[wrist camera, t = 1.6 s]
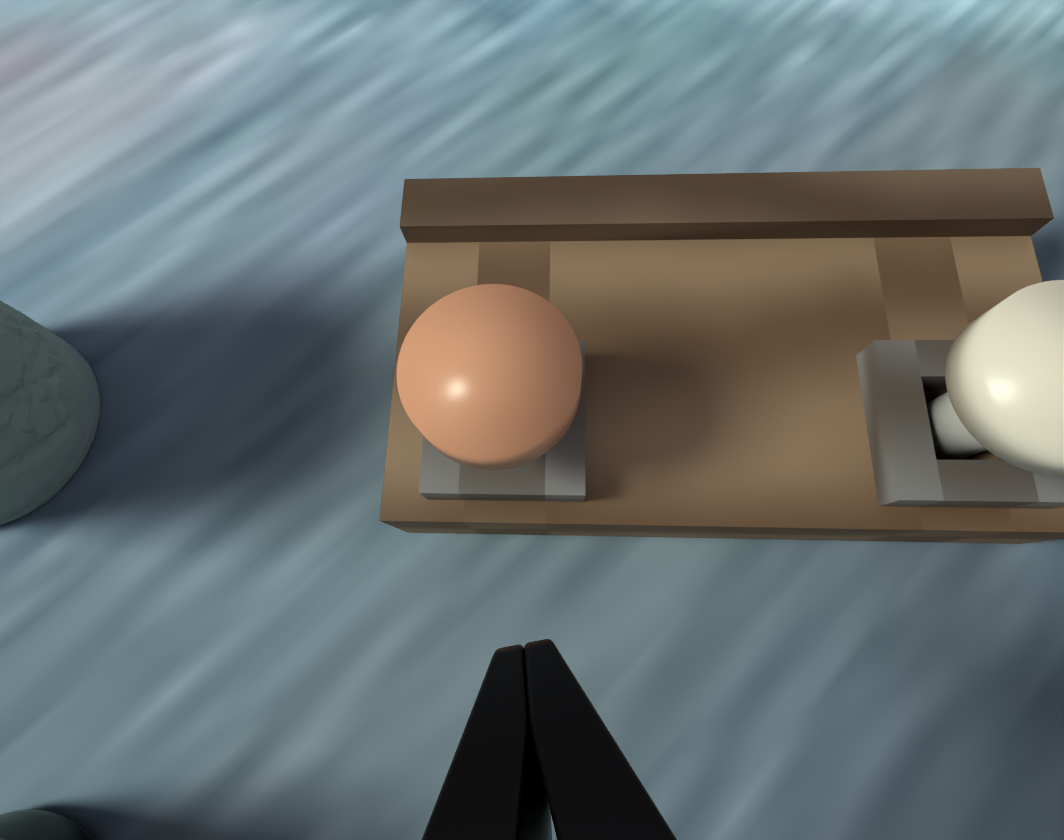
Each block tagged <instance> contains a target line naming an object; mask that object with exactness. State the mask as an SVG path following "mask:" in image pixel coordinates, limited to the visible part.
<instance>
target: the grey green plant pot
mask: <svg viewBox="0 0 1064 840" xmlns="http://www.w3.org/2000/svg"><path fill="white" fill-rule="evenodd" d="M99 415H100V393H99V388H98V383H97V380H96V378H95V375H94V373H93V370H92V368H91V367H90V365H89V364H88V362H87V361H86V359H85V358H84V357H83V356H82V355H81V354H80V353H79V352H78V351H77V350H76V349H75V348H74V347H73V346H71V345H70V344H69V343H67V342H66V341H65V340H63V339H62V338H60V337H59V336H57V335H55V334H54V333H52V332H51V331H49V330H48V329H46V328H45V327H43V326H41V325H40V324H38V323H37V322H35V321H34V320H32V319H31V318H29V317H27V316H26V315H24V314H23V313H21V312H20V311H18V310H16V309H14V308H12V307H11V306H9V305H7V304H5V303H3V302H2V301H0V525H1V524H5V523H7V522H10V521H13V520H16V519H18V518H20V517H22V516H25V515H27V514H28V513H30V512H32V511H33V510H35V509H36V508H38V507H39V506H41V505H43V504H44V503H46V502H47V501H48V500H49V499H51V498H52V497H53V496H54V495H56V494H57V493H58V492H59V491H60V490H61V489H62V488H63V487H64V486H65V484H66V483H67V482H68V481H69V480H70V478H71V477H72V476H73V475H74V473H75V472H76V471H77V470H78V468H79V467H80V465H81V463H82V462H83V460H84V458H85V457H86V455H87V453H88V451H89V449H90V446H91V444H92V442H93V440H94V437H95V433H96V429H97V426H98V421H99Z"/></svg>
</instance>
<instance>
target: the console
mask: <svg viewBox="0 0 1064 840" xmlns="http://www.w3.org/2000/svg"><path fill="white" fill-rule="evenodd" d="M1053 218H1054V217H1053V213H1052V210H1051V206H1050V202H1049V199H1048V195H1047V192H1046V188H1045V185H1044V181H1043V177H1042V174H1041V170H1040V168H1007V169H951V170H894V171H838V172H782V173H725V174H669V175H613V176H556V177H500V178H444V179H405V181H404V190H403V200H402V209H401V219H400V228H401V231H402V233H403V235H404V237H405V240H406V242H407V249H406V259H405V269H404V279H403V289H402V299H401V309H400V319H399V329H398V339H397V349H396V359H395V369H394V379H393V389H392V399H391V409H390V420H389V430H388V440H387V450H386V460H385V470H384V480H383V490H382V500H381V510H380V520H379V521H381V522H384V523H386V524H389V525H391V526H394V527H396V528H398V529H401V530H403V531H406V532H414V533H469V534H523V535H578V536H633V537H687V538H742V539H797V540H851V541H906V542H960V543H1015V544H1021V543H1029V542H1038V541H1047V540H1055V539H1064V477H1056V476H1046V475H1041V474H1036V473H1032V472H1029V471H1026V470H1023V469H1020V468H1018V467H1016V466H1013V465H1011V464H1009V463H1007V462H1005V461H1004V460H1002V459H1000V458H998V457H997V456H995V455H994V454H992V453H991V452H990V451H988V450H986V451H983V452H980V453H977V454H974V455H971V456H968V457H966V458H963V459H960V460H936V455H935V449H934V444H933V438H932V433H931V428H930V422H929V417H928V411H927V406H926V403H927V402H929V401H931V400H933V399H935V398H937V397H938V396H940V395H942V394H944V393H946V392H947V388H946V380H945V366H946V361H947V356H948V353H949V350H950V347H951V345H952V344H953V342H954V340H955V338H956V337H957V336H958V334H959V333H960V332H961V331H962V330H963V329H964V328H965V327H966V326H967V325H968V324H969V323H971V322H972V321H974V320H975V319H977V318H978V317H980V316H981V315H982V314H984V313H985V312H987V311H988V310H990V309H991V308H993V307H994V306H996V305H997V304H999V303H1000V302H1002V301H1003V300H1005V299H1006V298H1008V297H1009V296H1011V295H1012V294H1014V293H1015V292H1017V291H1019V290H1021V289H1023V288H1025V287H1027V286H1030V285H1033V284H1037V283H1041V282H1043V281H1042V277H1041V274H1040V270H1039V266H1038V262H1037V258H1036V255H1035V251H1034V247H1033V243H1032V239H1031V235H1033V234H1034V233H1035V232H1036V231H1038V230H1039V229H1040V228H1042V227H1043V226H1044V225H1045V224H1047V223H1048V222H1049V221H1051V220H1052V219H1053ZM483 284H505V285H510V286H516V287H519V288H523V289H526V290H528V291H531V292H533V293H535V294H537V295H539V296H541V297H542V298H544V299H546V300H547V301H548V302H550V303H551V304H552V305H554V306H555V307H556V308H557V309H558V310H559V311H560V312H561V313H562V314H563V315H564V317H565V318H566V319H567V321H568V322H569V324H570V325H571V327H572V329H573V331H574V333H575V335H576V337H577V340H578V343H579V346H580V351H581V355H582V379H581V392H580V400H579V405H578V409H577V412H576V414H575V417H574V419H573V421H572V423H571V425H570V427H569V429H568V430H567V432H566V433H565V434H564V436H563V437H562V438H561V439H560V440H559V442H558V443H557V444H556V445H555V446H554V447H552V448H551V449H550V450H549V451H548V452H546V456H543V455H542V456H540V457H539V458H537V459H535V460H533V461H531V462H529V463H527V464H524V465H521V466H518V467H514V468H509V469H503V470H483V469H476V468H471V467H468V466H465V465H462V464H459V463H457V462H455V461H453V460H451V459H449V458H447V457H446V456H445V455H443V454H442V453H440V452H439V451H438V450H437V449H436V448H435V447H434V446H432V445H431V444H430V442H429V441H428V440H427V439H426V438H425V437H424V436H423V434H422V433H421V432H420V431H419V430H418V429H417V427H416V426H415V425H414V424H413V422H412V421H411V420H410V418H409V416H408V415H407V413H406V411H405V409H404V407H403V405H402V402H401V400H400V396H399V392H398V387H397V363H398V357H399V353H400V350H401V346H402V344H403V342H404V339H405V337H406V335H407V333H408V332H409V330H410V328H411V327H412V325H413V324H414V323H415V321H416V320H417V319H418V318H419V316H420V315H421V314H422V313H423V312H425V311H426V310H427V309H428V308H429V307H430V306H431V305H433V304H434V303H435V302H437V301H438V300H440V299H442V298H443V297H445V296H447V295H449V294H451V293H453V292H455V291H458V290H461V289H464V288H467V287H471V286H476V285H483Z"/></svg>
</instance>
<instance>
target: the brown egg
mask: <svg viewBox="0 0 1064 840" xmlns="http://www.w3.org/2000/svg"><path fill="white" fill-rule="evenodd" d="M581 379H582V355H581V351H580V346H579V343H578V340H577V337H576V335H575V333H574V331H573V329H572V327H571V325H570V324H569V322H568V321H567V319H566V318H565V317H564V315H563V314H562V313H561V312H560V311H559V310H558V309H557V308H556V307H555V306H554V305H552V304H551V303H550V302H548V301H547V300H546V299H544V298H542V297H541V296H539V295H537V294H535V293H533V292H531V291H528V290H526V289H523V288H519V287H516V286H510V285H505V284H483V285H476V286H471V287H467V288H464V289H461V290H458V291H455V292H453V293H451V294H449V295H447V296H445V297H443V298H442V299H440V300H438V301H437V302H435V303H434V304H433V305H431V306H430V307H429V308H428V309H427V310H426V311H425V312H423V313H422V314H421V315H420V316H419V318H418V319H417V320H416V321H415V323H414V324H413V325H412V327H411V328H410V330H409V332H408V333H407V335H406V337H405V339H404V342H403V344H402V346H401V350H400V353H399V357H398V363H397V387H398V392H399V396H400V400H401V402H402V405H403V407H404V409H405V411H406V413H407V415H408V416H409V418H410V420H411V421H412V422H413V424H414V425H415V426H416V427H417V429H418V430H419V431H420V432H421V433H422V434H423V436H424V437H425V438H426V439H427V440H428V441H429V442H430V444H431V445H432V446H434V447H435V448H436V449H437V450H438V451H439V452H440V453H442V454H443V455H445V456H446V457H447V458H449V459H451V460H453V461H455V462H457V463H459V464H462V465H465V466H468V467H471V468H476V469H483V470H503V469H509V468H514V467H518V466H521V465H524V464H527V463H529V462H531V461H533V460H535V459H537V458H539V457H540V456H542V455H543V454H545V453H546V452H548V451H549V450H550V449H551V448H552V447H554V446H555V445H556V444H557V443H558V442H559V440H560V439H561V438H562V437H563V436H564V434H565V433H566V432H567V430H568V429H569V427H570V425H571V423H572V421H573V419H574V417H575V414H576V412H577V409H578V405H579V400H580V392H581Z"/></svg>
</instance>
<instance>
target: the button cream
mask: <svg viewBox="0 0 1064 840" xmlns="http://www.w3.org/2000/svg"><path fill="white" fill-rule="evenodd" d="M945 380H946V388H947V392H946V393H944V394H942V395H940V396H938V397H937V398H935V399H933V400H931V401H929V402H927V403H926V406H927V411H928V417H929V422H930V428H931V433H932V438H933V444H934V449H935V455H936V460H960V459H963V458H966V457H968V456H971V455H974V454H977V453H980V452H983V451H986V450H988V451H990V452H991V453H992V454H994V455H995V456H997V457H998V458H1000V459H1002V460H1004V461H1005V462H1007V463H1009V464H1011V465H1013V466H1016V467H1018V468H1020V469H1023V470H1026V471H1029V472H1032V473H1036V474H1041V475H1046V476H1056V477H1064V280H1053V281H1046V282H1041V283H1037V284H1033V285H1030V286H1027V287H1025V288H1023V289H1021V290H1019V291H1017V292H1015V293H1014V294H1012V295H1011V296H1009V297H1008V298H1006V299H1005V300H1003V301H1002V302H1000V303H999V304H997V305H996V306H994V307H993V308H991V309H990V310H988V311H987V312H985V313H984V314H982V315H981V316H980V317H978V318H977V319H975V320H974V321H972V322H971V323H969V324H968V325H967V326H966V327H965V328H964V329H963V330H962V331H961V332H960V333H959V334H958V336H957V337H956V338H955V340H954V342H953V344H952V345H951V347H950V350H949V353H948V356H947V361H946V366H945Z"/></svg>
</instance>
